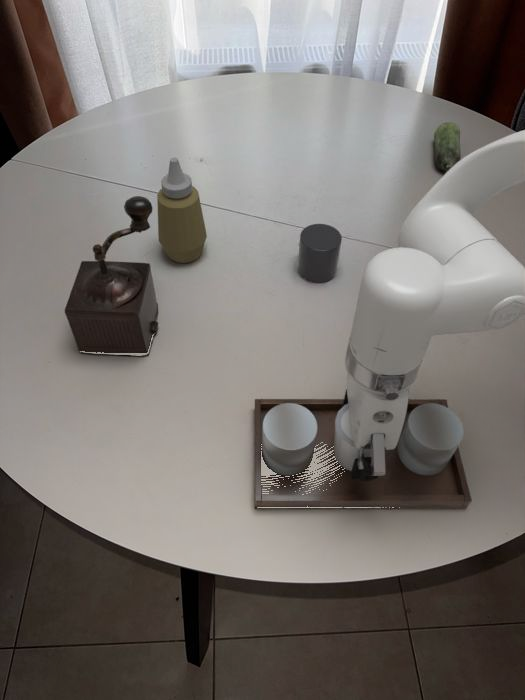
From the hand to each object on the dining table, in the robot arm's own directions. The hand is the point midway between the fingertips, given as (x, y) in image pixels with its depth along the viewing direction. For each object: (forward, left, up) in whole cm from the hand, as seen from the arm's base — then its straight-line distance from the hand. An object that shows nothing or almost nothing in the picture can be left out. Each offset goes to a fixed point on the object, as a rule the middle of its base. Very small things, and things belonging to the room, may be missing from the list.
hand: (359, 441), depth 73 cm
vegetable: (-26, -68, -4) cm, 73 cm away
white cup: (0, 0, -3) cm, 3 cm away
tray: (0, 0, -4) cm, 4 cm away
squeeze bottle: (+25, -39, -4) cm, 46 cm away
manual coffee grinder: (+33, -24, -4) cm, 41 cm away
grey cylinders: (-7, -35, -4) cm, 36 cm away
